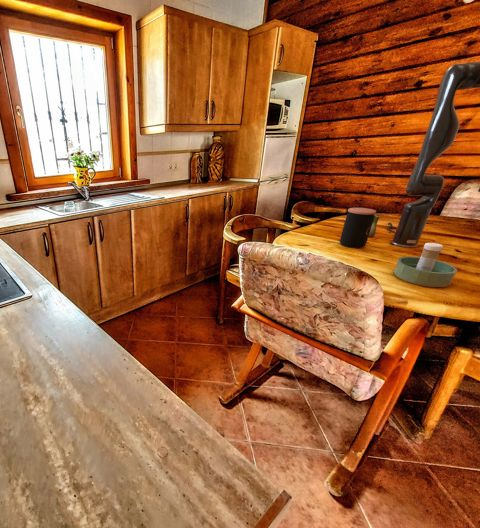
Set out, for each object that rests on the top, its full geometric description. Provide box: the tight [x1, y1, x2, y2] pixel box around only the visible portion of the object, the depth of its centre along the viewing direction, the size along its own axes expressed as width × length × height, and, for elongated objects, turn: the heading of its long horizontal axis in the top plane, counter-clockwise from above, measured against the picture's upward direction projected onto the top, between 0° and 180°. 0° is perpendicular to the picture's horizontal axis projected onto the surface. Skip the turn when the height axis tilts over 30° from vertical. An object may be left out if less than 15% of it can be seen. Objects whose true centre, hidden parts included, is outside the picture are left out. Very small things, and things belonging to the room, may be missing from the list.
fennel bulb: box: [368, 214, 380, 238], centre depth 148 cm, size 6×5×12 cm
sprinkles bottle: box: [416, 242, 444, 272], centre depth 103 cm, size 5×5×14 cm
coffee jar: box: [339, 207, 377, 249], centre depth 137 cm, size 11×11×18 cm
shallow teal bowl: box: [392, 256, 458, 288], centre depth 105 cm, size 16×16×6 cm
